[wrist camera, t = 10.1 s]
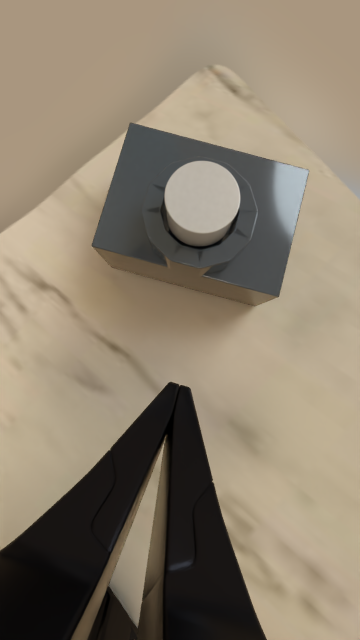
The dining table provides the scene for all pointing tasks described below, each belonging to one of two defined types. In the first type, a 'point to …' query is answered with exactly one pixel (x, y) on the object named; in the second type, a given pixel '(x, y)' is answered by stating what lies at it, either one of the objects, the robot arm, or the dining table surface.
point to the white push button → (201, 202)
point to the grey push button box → (200, 261)
